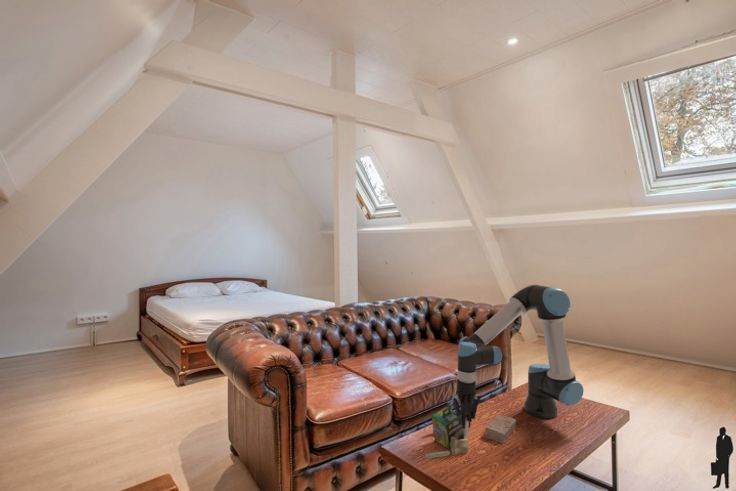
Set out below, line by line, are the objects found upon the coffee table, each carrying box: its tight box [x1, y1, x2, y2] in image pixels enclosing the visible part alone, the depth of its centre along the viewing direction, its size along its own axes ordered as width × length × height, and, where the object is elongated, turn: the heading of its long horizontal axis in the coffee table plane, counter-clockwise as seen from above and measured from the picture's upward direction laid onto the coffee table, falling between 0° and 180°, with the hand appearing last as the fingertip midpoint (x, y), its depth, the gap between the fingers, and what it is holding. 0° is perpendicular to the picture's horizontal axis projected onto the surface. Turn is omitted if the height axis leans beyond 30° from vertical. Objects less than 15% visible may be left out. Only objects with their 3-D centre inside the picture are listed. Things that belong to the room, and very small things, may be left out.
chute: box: [432, 429, 469, 456], centre depth 154 cm, size 7×17×6 cm, turn 15°
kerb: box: [424, 450, 451, 459], centre depth 144 cm, size 10×1×1 cm, turn 105°
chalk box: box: [431, 406, 465, 451], centre depth 153 cm, size 9×9×15 cm
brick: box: [484, 414, 517, 444], centre depth 162 cm, size 17×8×5 cm, turn 141°
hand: (465, 435), depth 156 cm, fingers closed
